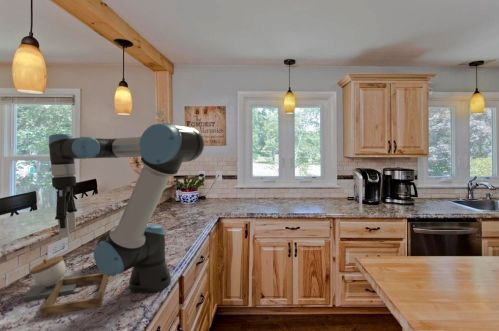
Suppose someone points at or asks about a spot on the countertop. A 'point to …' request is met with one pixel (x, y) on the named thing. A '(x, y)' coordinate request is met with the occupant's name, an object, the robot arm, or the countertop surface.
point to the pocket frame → (78, 305)
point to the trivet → (49, 290)
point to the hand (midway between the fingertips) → (68, 233)
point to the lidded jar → (49, 271)
